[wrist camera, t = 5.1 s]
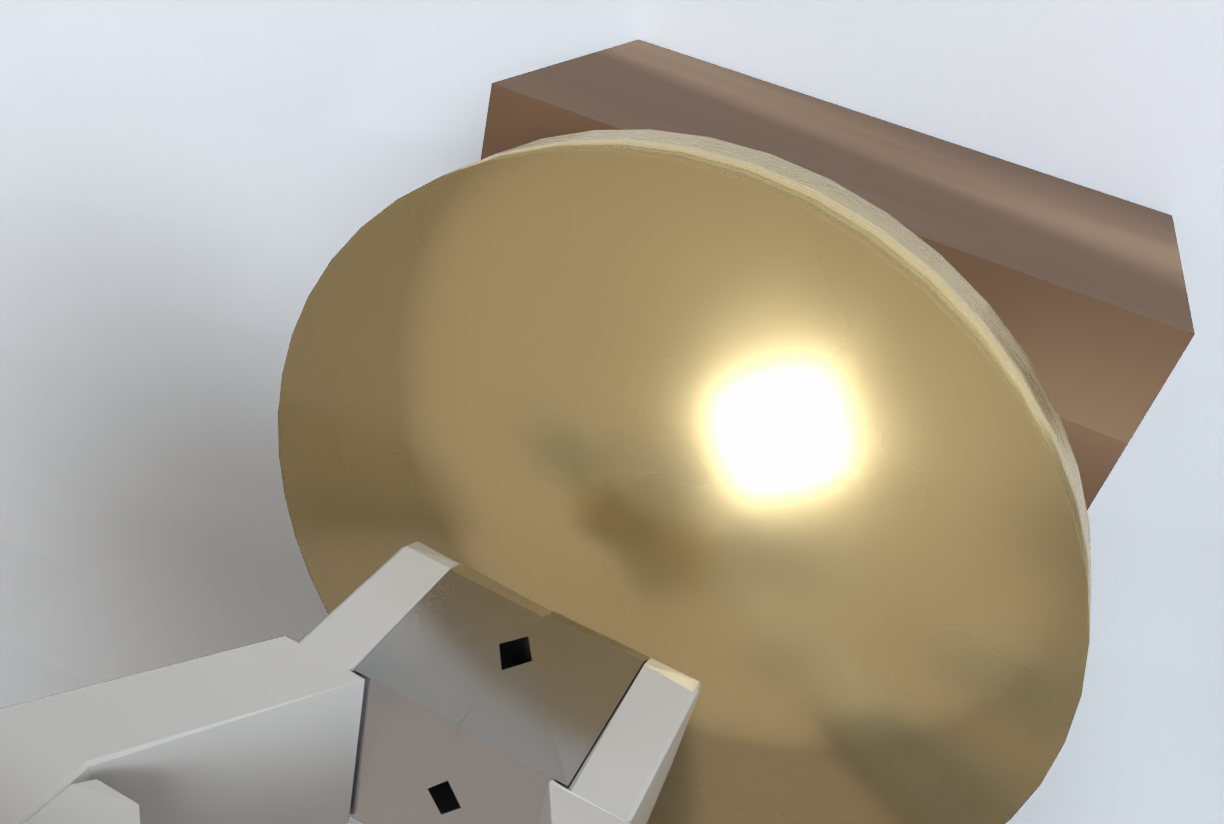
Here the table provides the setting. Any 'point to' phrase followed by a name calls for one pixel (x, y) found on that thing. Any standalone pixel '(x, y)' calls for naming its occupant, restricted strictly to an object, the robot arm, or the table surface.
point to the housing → (923, 220)
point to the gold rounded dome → (713, 464)
